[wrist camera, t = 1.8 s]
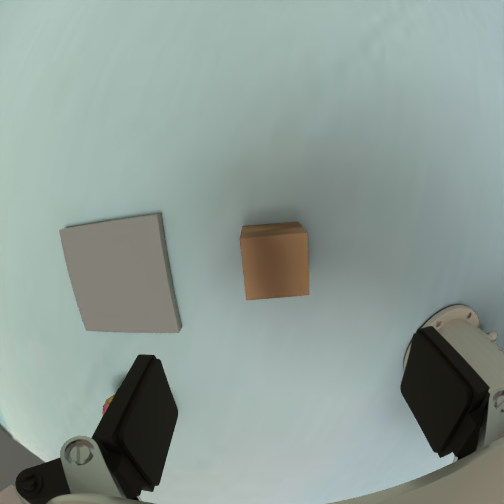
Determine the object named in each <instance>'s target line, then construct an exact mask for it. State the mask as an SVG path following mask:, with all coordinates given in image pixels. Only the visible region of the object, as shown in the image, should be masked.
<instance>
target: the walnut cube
mask: <svg viewBox="0 0 504 504" xmlns="http://www.w3.org/2000/svg"><path fill="white" fill-rule="evenodd" d="M240 244H241V254H242V264H243V273H244V283H245V292H246V300H256V299H268V298H280V297H291V296H302V295H309V260H308V234H307V232H306V231H305V229H304V228H303V227H302V226H301V225H300V224H299V222H289V223H276V224H263V225H252V226H243V228H242V232H241V236H240Z"/></svg>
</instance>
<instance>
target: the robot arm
mask: <svg viewBox="0 0 504 504" xmlns="http://www.w3.org/2000/svg"><path fill="white" fill-rule="evenodd" d="M479 326H480V325H479V319H478V317H477V314H476V313H475V312H474V311H473V310H472V309H470V308H469V307H467V306H464V305H454V306H450V307H448V308H446V309H443V310H442V311H440V312H439V313H437V314H436V315H434V316H433V317H432V318H431V319H430V320H428V321H427V322H426V323H425V325H424V326H423V327H422V328H420V329H418V330H417V332H416V333H415V334H414V335H413V339H412V342H411V344H410V346H409V348H408V350H407V353H406V356H405V360H404V375H403V379H402V382H401V393H402V395H403V397H404V399H405V400H406V402H407V404H408V406H409V407H410V409H411V411H412V413H413V414H414V416H415V418H416V420H417V422H418V424H419V425H420V427H421V429H422V431H423V433H424V435H425V436H426V438H427V440H428V442H429V444H430V446H431V448H432V450H433V451H434V452H436V453H438V455H439V457H440V458H441V457H444V456H446V455H448V454H450V453H452V452H453V453H454V455H455V456H454V460H453V463H452V464H450V465H447V466H445V467H443V468H441V469H439V470H436V471H434V472H432V473H429V474H427V475H425V476H422V477H420V478H417V479H415V480H412V481H409V482H407V483H404V484H401V485H398V486H395V487H392V488H389V489H386V490H382V491H379V492H375V493H372V494H368V495H365V496H361V497H357V498H352V499H348V500H343V501H339V502H333V503H328V504H504V353H503V352H502V351H501V350H499V349H498V346H497V344H496V343H495V342H493V343H492V341H494V340H496V338H497V333H496V332H495V331H493V332H490V333H488V334H486V333H485V332H483V331H482V330H481V329H480V328H479ZM177 418H178V409H177V406H176V403H175V401H174V398H173V395H172V393H171V390H170V387H169V384H168V381H167V378H166V375H165V372H164V369H163V366H162V363H161V361H160V359H156V357H155V356H154V355H138V356H137V358H136V360H135V361H134V363H133V365H132V367H131V368H130V370H129V372H128V374H127V375H126V377H125V379H124V381H123V383H122V384H121V386H120V388H119V389H118V390H117V392H116V394H115V395H114V397H113V399H112V401H111V403H110V404H109V406H108V408H107V410H106V412H105V414H104V415H103V417H102V419H101V421H100V423H99V425H98V427H97V429H96V430H95V432H94V434H93V436H92V438H89V437H87V436H76V437H73V438H71V439H69V440H68V441H66V442H65V443H64V445H63V446H62V448H61V451H60V458H58V459H55V460H52V461H49V462H46V463H43V464H41V465H37V466H34V467H31V468H28V469H25V470H23V471H22V472H21V473H19V475H18V477H17V478H16V487H13V486H12V485H10V486H9V487H7V488H6V489H4V490H3V491H1V492H0V504H154V503H148V502H143V501H142V500H141V498H140V497H139V495H140V494H141V490H145V491H150V492H153V490H154V487H155V486H158V485H159V483H160V480H161V476H162V472H163V469H164V465H165V461H166V458H167V454H168V450H169V447H170V443H171V439H172V436H173V432H174V428H175V425H176V421H177Z"/></svg>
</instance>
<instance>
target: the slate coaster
mask: <svg viewBox="0 0 504 504" xmlns="http://www.w3.org/2000/svg"><path fill="white" fill-rule="evenodd" d="M59 231H60V236H61V242H62V246H63V251H64V256H65V260H66V264H67V268H68V272H69V276H70V280H71V284H72V287H73V291H74V294H75V298H76V301H77V304H78V308H79V311H80V314H81V317H82V320H83V323H84V326H85V329H86V331H101V332H129V333H179V332H180V330H181V328H182V326H181V321H180V317H179V312H178V307H177V302H176V298H175V293H174V288H173V282H172V277H171V272H170V266H169V260H168V254H167V248H166V242H165V236H164V229H163V222H162V215H161V213H158V214H151V215H143V216H136V217H129V218H122V219H116V220H109V221H103V222H97V223H90V224H84V225H79V226H73V227H67V228H64V229H61V230H59Z"/></svg>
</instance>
